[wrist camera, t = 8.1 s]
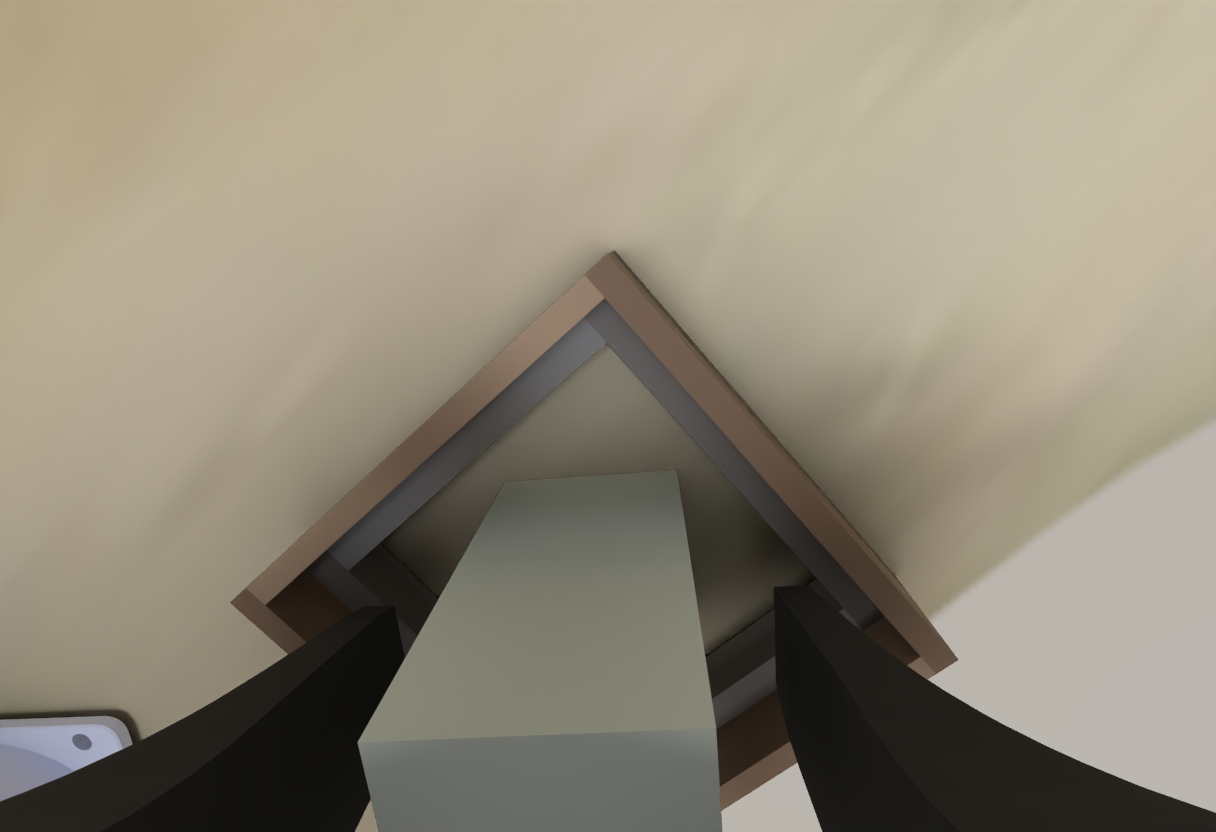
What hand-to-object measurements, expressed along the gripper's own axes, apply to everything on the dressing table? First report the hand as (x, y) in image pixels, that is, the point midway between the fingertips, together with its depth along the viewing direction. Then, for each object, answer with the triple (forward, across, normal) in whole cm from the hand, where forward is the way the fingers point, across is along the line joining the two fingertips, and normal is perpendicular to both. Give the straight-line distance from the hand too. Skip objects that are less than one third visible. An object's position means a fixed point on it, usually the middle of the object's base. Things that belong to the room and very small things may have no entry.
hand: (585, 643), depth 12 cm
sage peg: (+3, 0, 0) cm, 3 cm away
